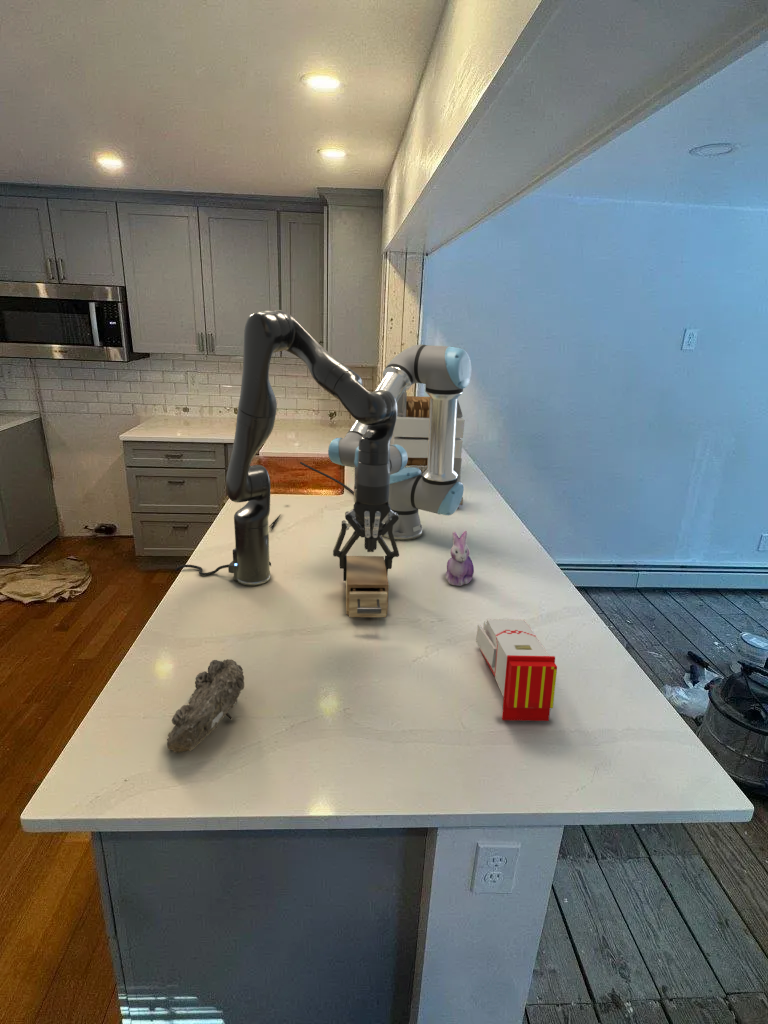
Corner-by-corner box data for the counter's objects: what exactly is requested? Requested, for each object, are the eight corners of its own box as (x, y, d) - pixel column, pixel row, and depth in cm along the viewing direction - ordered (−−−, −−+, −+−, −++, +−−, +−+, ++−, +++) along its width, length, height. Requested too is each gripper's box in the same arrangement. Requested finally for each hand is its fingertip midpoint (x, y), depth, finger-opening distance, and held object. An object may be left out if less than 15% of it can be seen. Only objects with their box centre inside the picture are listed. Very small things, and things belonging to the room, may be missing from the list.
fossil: (192, 660, 117) (244, 628, 112) (224, 691, 120) (276, 661, 115) (142, 746, 98) (202, 712, 93) (182, 779, 101) (242, 748, 96)
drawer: (387, 629, 138) (389, 605, 136) (349, 629, 138) (349, 605, 135) (381, 587, 159) (382, 565, 157) (348, 587, 158) (348, 565, 156)
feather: (288, 508, 223) (290, 504, 222) (270, 532, 196) (273, 528, 196) (284, 506, 223) (286, 502, 222) (266, 530, 196) (268, 525, 195)
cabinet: (387, 614, 147) (388, 584, 144) (346, 614, 146) (347, 584, 143) (382, 583, 163) (383, 556, 160) (345, 583, 162) (346, 555, 159)
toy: (523, 604, 135) (566, 662, 106) (518, 656, 138) (559, 727, 109) (472, 603, 135) (501, 661, 105) (468, 655, 138) (496, 726, 108)
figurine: (455, 589, 161) (460, 541, 156) (436, 574, 170) (440, 528, 165) (482, 583, 166) (487, 536, 160) (462, 569, 174) (466, 524, 169)
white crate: (382, 463, 289) (386, 382, 275) (445, 464, 293) (451, 384, 279) (390, 482, 257) (394, 392, 243) (460, 483, 261) (468, 394, 247)
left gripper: (343, 484, 124) (342, 557, 130) (403, 486, 125) (399, 557, 131) (343, 475, 131) (342, 544, 137) (400, 476, 132) (396, 544, 138)
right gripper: (323, 507, 145) (323, 584, 153) (412, 509, 147) (408, 585, 155) (324, 498, 152) (323, 572, 160) (409, 499, 154) (405, 573, 162)
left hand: (370, 550), depth 134 cm, fingers closed
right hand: (365, 578), depth 157 cm, fingers closed on cabinet, 11 cm apart
